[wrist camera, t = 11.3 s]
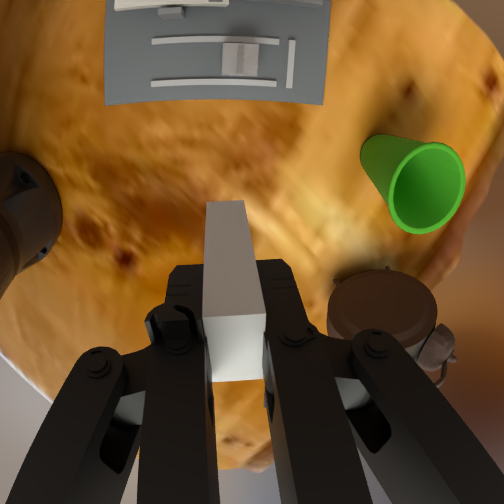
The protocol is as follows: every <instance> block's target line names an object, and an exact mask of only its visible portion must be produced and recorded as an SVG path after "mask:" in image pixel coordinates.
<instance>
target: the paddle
mask: <svg viewBox="0 0 504 504" xmlns="http://www.w3.org/2000/svg"><path fill="white" fill-rule="evenodd" d="M228 5H229V0H115V3H114V10H115V11H123V10H132V9H142V8H155V7H174V6H217V7H227V6H228Z"/></svg>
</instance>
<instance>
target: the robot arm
mask: <svg viewBox="0 0 504 504" xmlns="http://www.w3.org/2000/svg"><path fill="white" fill-rule="evenodd" d="M61 227H62V208H61V203H60V199H59V196H58V193H57V190H56V188H55V186H54V184H53V182H52V180H51V179H50V177H49V176H48V174H47V173H46V172H45V170H44V169H43V168H42V167H41V166H40V165H39V164H38V163H37V162H35V161H34V160H33V159H31V158H29V157H28V156H26V155H23V154H21V153H17V152H3V153H0V299H1V298H2V296H3V294H4V293H5V291H6V290H7V288H8V286H9V285H10V283H11V282H12V280H13V279H14V277H15V276H16V275H17V274H19V273H21V272H22V271H24V270H26V269H27V268H29V267H31V266H32V265H34V264H36V263H38V262H39V261H41V260H42V259H43V258H44V257H45V256H46V255H47V254H48V253H49V252H50V250H51V249H52V247H53V246H54V244H55V243H56V241H57V239H58V237H59V235H60V231H61ZM144 322H145V325H146V328H147V331H148V335H149V338H150V341H151V345H149V346H148V347H146V348H144V349H142V350H139V351H137V352H133V353H129V354H125V355H122V356H121V355H120V354H119V353H118V352H117V351H116V350H114V349H112V348H110V347H101V346H100V347H96V348H92V349H90V350H88V351H86V352H85V353H83V354H82V355H81V356H80V358H79V359H78V360H77V361H76V363H75V365H74V367H73V368H72V370H71V372H70V373H69V375H68V377H67V379H66V380H65V382H64V384H63V386H62V388H61V389H60V391H59V393H58V395H57V397H56V398H55V400H54V402H53V404H52V406H51V408H50V410H49V411H48V414H47V415H46V417H45V419H44V421H43V423H42V425H41V427H40V429H39V431H38V433H37V435H36V437H35V439H34V441H33V443H32V445H31V447H30V449H29V451H28V453H27V455H26V458H25V460H24V462H23V464H22V466H21V469H20V471H19V473H18V475H17V478H16V480H15V482H14V484H13V487H12V489H11V491H10V494H9V496H8V499H7V501H6V503H5V504H120V502H121V499H122V495H123V493H124V490H125V487H126V484H127V481H128V478H129V475H130V473H131V469H132V467H133V464H134V461H135V458H136V455H137V453H138V450H139V447H140V453H139V468H138V486H137V504H220V495H219V481H218V466H217V451H216V433H215V413H214V396H213V391H212V382H221V381H238V380H252V379H263V375H264V381H265V394H264V407H266V408H267V415H268V421H269V428H270V434H271V441H272V447H273V454H274V460H275V466H276V473H277V479H278V485H279V492H280V498H281V504H373V502H372V499H371V495H370V492H369V489H368V485H367V481H366V478H365V474H364V471H363V467H362V464H361V460H360V457H359V454H358V451H357V447H358V449H359V451H360V452H361V454H362V456H363V457H364V459H365V460H366V462H367V463H368V465H369V467H370V468H371V470H372V472H373V473H374V475H375V476H376V478H377V480H378V481H379V483H380V485H381V486H382V488H383V489H384V491H385V492H386V494H387V496H388V497H389V499H390V501H391V502H392V504H504V474H503V473H502V472H501V470H500V469H499V467H498V466H497V465H496V463H495V462H494V461H493V459H492V458H491V457H490V455H489V454H488V453H487V451H486V450H485V449H484V447H483V446H482V444H481V443H480V442H479V440H478V439H477V438H476V437H475V435H474V434H473V433H472V431H471V430H470V429H469V427H468V426H467V425H466V424H465V422H464V421H463V420H462V418H461V417H460V416H459V415H458V413H457V412H456V411H455V409H454V408H453V407H452V406H451V404H450V403H449V402H448V401H447V400H446V398H445V397H444V396H443V394H442V393H441V392H440V391H439V389H438V388H437V387H436V386H435V385H434V383H433V382H432V381H431V380H430V378H429V377H428V376H427V375H426V374H425V373H424V371H423V370H422V369H421V368H420V366H419V365H418V364H417V363H416V362H415V360H414V359H413V358H412V357H411V356H410V355H409V353H408V352H407V351H406V350H405V349H404V347H403V346H402V345H401V344H400V343H399V342H398V340H397V339H396V338H395V337H393V336H392V335H391V334H390V333H388V332H385V331H383V330H381V329H373V328H371V329H365V330H362V331H360V332H359V333H357V334H356V335H355V337H354V338H353V340H347V339H340V338H333V337H329V336H326V335H324V334H322V333H320V332H319V331H318V330H317V328H316V327H315V326H314V325H312V324H311V323H310V322H309V320H308V318H307V315H306V312H305V309H304V306H303V303H302V300H301V297H300V294H299V291H298V288H297V285H296V282H295V280H294V276H293V273H292V270H291V267H290V266H289V265H288V264H287V263H285V262H284V261H283V260H282V259H269V260H255V255H254V250H253V245H252V240H251V235H250V229H249V224H248V219H247V214H246V209H245V204H244V200H239V201H217V202H207V209H206V227H205V248H204V264H195V265H177V266H176V267H175V268H174V270H173V271H172V272H171V273H170V275H169V279H168V285H167V291H166V297H165V303H163V304H161V305H159V306H157V307H155V308H154V309H152V310H151V311H150V312H149V313H148V314H147V317H146V319H145V321H144ZM356 446H357V447H356Z"/></svg>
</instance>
